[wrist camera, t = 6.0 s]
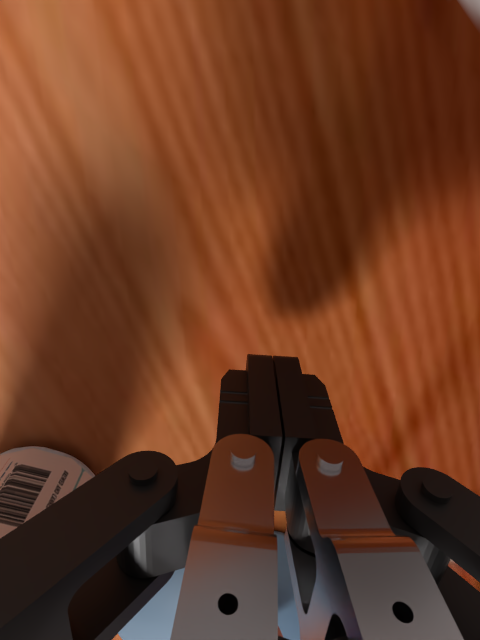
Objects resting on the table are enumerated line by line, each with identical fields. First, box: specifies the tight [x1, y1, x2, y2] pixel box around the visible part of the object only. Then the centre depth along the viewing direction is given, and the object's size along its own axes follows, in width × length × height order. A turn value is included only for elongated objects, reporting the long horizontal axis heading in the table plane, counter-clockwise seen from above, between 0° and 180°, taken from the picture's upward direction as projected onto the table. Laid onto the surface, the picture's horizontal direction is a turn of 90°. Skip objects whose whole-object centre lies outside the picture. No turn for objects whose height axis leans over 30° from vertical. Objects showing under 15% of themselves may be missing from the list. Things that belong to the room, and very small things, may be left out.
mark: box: [118, 531, 300, 640], centre depth 21 cm, size 13×13×1 cm
